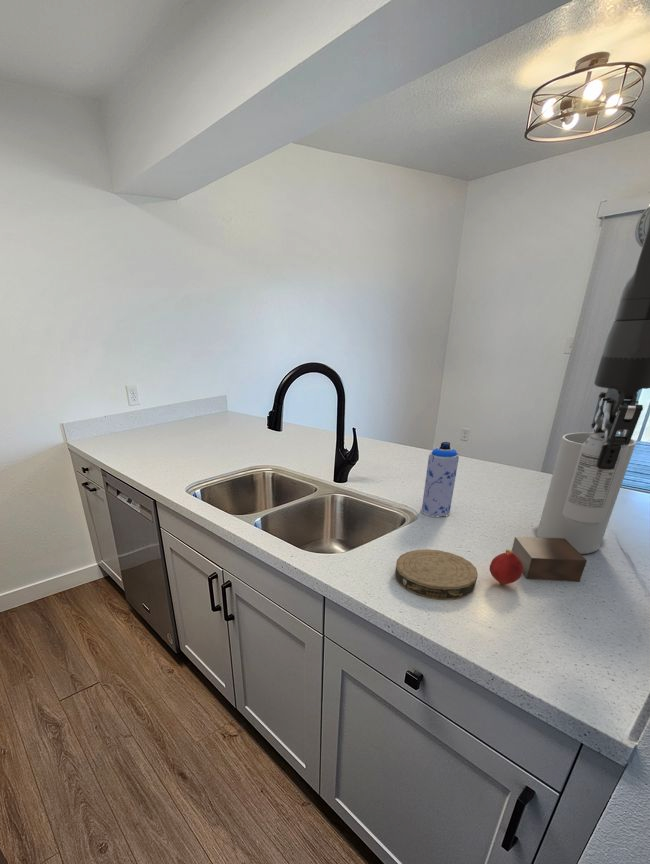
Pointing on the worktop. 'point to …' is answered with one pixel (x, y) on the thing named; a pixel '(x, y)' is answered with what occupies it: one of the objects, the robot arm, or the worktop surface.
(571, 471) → the cylinder vase
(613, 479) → the energy drink can
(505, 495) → the worktop surface
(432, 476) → the aerosol can
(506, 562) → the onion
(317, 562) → the worktop surface
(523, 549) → the walnut block
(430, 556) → the wood slice
